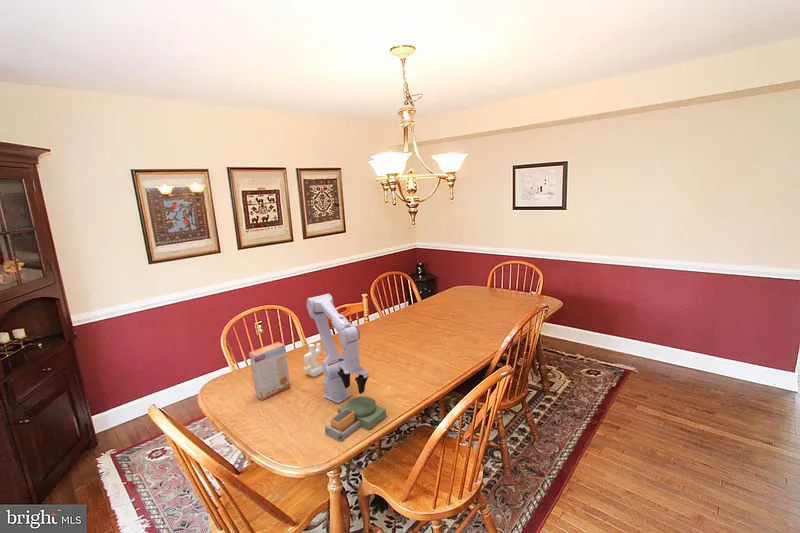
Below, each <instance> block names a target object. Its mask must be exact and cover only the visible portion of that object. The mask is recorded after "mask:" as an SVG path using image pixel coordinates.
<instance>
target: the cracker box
mask: <svg viewBox="0 0 800 533" xmlns="http://www.w3.org/2000/svg"><path fill="white" fill-rule="evenodd" d="M248 352H249V353H248V355H249V361H250V367H251V374H252V379H253V384H254V385H253V386H254V392H255V396H256V397H257V398H258V399H259V400H260V401H265V400H267V399H268V398H271V397H273V396H275V395H277V394H279V393H282V392H284V391H285V390H288V389H291V381H290V373H289V366H288V360H287V358H288V357H287V354H286V346H285V344H284V343H281V342H280V341H277V342H274V343H272V344H269V345H265V346H262V347H260V348H257V349H254V350H252V351H248Z"/></svg>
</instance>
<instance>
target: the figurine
mask: <svg viewBox="0 0 800 533" xmlns="http://www.w3.org/2000/svg"><path fill="white" fill-rule="evenodd" d="M321 345H322V343H320V342H316V345H315V344H314V343H310V344H309V345H308V350H309V351H308V352H307V353H305V354H304V355H303V362H304V366H305V367H303V370H304V372H305V373H306V374H308V376H310V377H312V378H315V377H318V376H319V375H321V374H322V373H323V367H322V363H321V364H320V363H319V362H318V361H317V356H318V355H321V353H322V347H321ZM309 360H310V361H309Z"/></svg>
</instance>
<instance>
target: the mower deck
mask: <svg viewBox="0 0 800 533" xmlns="http://www.w3.org/2000/svg"><path fill="white" fill-rule="evenodd" d="M345 409H348V410H351V411H353V412H354V415H355V423H354V424H353V425H351V426H350V427H349V428H347V429H346V430H344V431H343V432H341V431H339V430H337V429H335V428H333V427H331V424H330V425H328V424H326V425H324V431H325V435H327V436H329V437H330V438H333V439H334V440H337V441H338V442H342V441H343V440H344V439H346V438H347V437H348V436H350V435H351V434H352V433H354V432H355V431H356V430H358V429H359V428H360V427H361V428H363V429H366V430H368V431H370V430H371V429H373V427H375V426H376V425H377V424H379V423H380V422H381V421H382V420H383V419H385V418H386V417H387V408H384V407H382V406H379V405H377V403H376V400H375V399H374V398H372V397H370V396H358V397H356V396H355V397H354V398H352V399H350V400H349V401H348V402H346V403H345V404H343V405H342V406H340V407H338V408H337V415H338V414H339V413H341V412H342V411H344V410H345Z"/></svg>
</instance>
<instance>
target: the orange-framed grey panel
mask: <svg viewBox="0 0 800 533" xmlns="http://www.w3.org/2000/svg"><path fill="white" fill-rule="evenodd" d="M354 423H355V415H354V412H353V411H351V410H348V409H345V410H344V411H342V412H341V413H339V414H338V413H337V415H335V416H333V417H332V418H331V419H330V425H331V427H333V428H335V429H337V430H339V431H341V432H343V431H344V430H346V429H347V428H349V427H350V426H351V425H353V424H354Z"/></svg>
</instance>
